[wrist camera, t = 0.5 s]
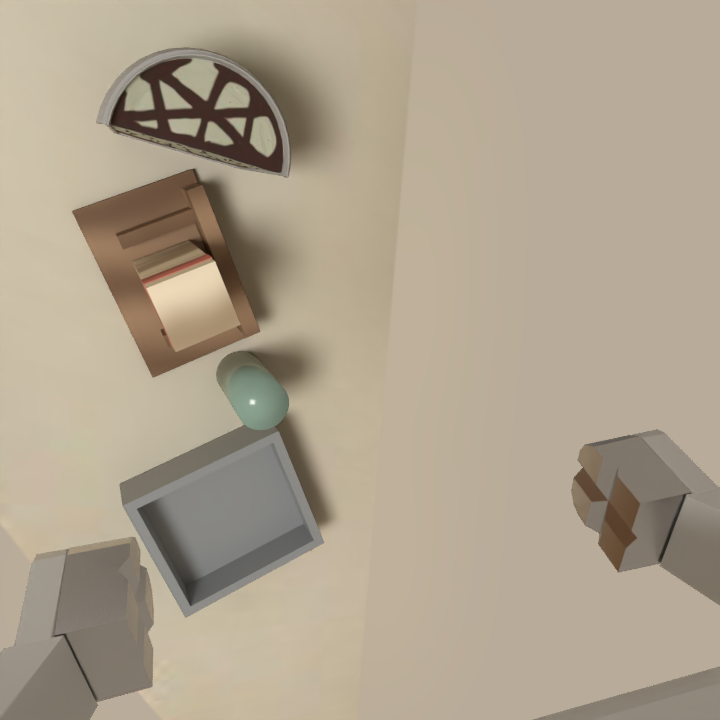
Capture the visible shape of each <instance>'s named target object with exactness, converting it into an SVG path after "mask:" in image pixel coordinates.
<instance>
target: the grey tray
mask: <svg viewBox="0 0 720 720" xmlns="http://www.w3.org/2000/svg"><path fill="white" fill-rule="evenodd" d="M120 490H121V498H122V505H123V507H124V509H125V511H126V513H127V515H128V516H129V518H130V520H131V522H132V523H133V525H134V527H135V529H136V531H137V532H138V534H139V536H140V538H141V539H142V541H143V543H144V545H145V547H146V548H147V550H148V552H149V554H150V555H151V557H152V559H153V561H154V563H155V564H156V566H157V568H158V570H159V571H160V573H161V575H162V577H163V579H164V580H165V582H166V584H167V586H168V588H169V589H170V591H171V593H172V595H173V596H174V598H175V600H176V602H177V604H178V605H179V607H180V609H181V611H182V612H183V614H184V616H185V618H186V617H188V616H190V615H191V614H193V613H195V612H197V611H199V610H201V609H203V608H204V607H206V606H208V605H210V604H212V603H214V602H215V601H217V600H219V599H221V598H223V597H225V596H227V595H228V594H230V593H232V592H234V591H236V590H238V589H240V588H241V587H243V586H245V585H247V584H249V583H251V582H253V581H254V580H256V579H258V578H260V577H262V576H264V575H265V574H267V573H269V572H271V571H273V570H275V569H277V568H278V567H280V566H282V565H284V564H286V563H288V562H290V561H291V560H293V559H295V558H297V557H299V556H301V555H302V554H304V553H306V552H308V551H310V550H312V549H314V548H315V547H317V546H319V545H321V544H323V543H324V541H323V538H322V536H321V533H320V531H319V529H318V526H317V524H316V521H315V519H314V516H313V514H312V511H311V509H310V506H309V504H308V502H307V499H306V497H305V494H304V492H303V489H302V487H301V484H300V482H299V480H298V477H297V475H296V472H295V470H294V467H293V465H292V462H291V460H290V458H289V455H288V453H287V450H286V448H285V445H284V443H283V440H282V438H281V435H280V433H279V431H278V429H277V428H276V427H275V426H274V427H272V428H270V429H267V430H254V429H251V428H249V427H247V426H246V425H244V426H242V427H240V428H238V429H236V430H233V431H231V432H229V433H227V434H225V435H223V436H221V437H219V438H216V439H214V440H212V441H210V442H208V443H206V444H204V445H202V446H199V447H197V448H195V449H193V450H191V451H189V452H187V453H185V454H182V455H180V456H178V457H176V458H174V459H172V460H170V461H168V462H165V463H163V464H161V465H159V466H157V467H155V468H153V469H151V470H148V471H146V472H144V473H142V474H140V475H138V476H136V477H134V478H132V479H129V480H127V481H125V482H123V483H121V484H120Z"/></svg>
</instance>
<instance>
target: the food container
mask: <svg viewBox="0 0 720 720" xmlns="http://www.w3.org/2000/svg"><path fill="white" fill-rule="evenodd" d="M96 123H98V124H105V125H107V126H108V127H109V128H110V129H111V130H112V131H113V132H114V133H116V134H120V135H123V136H127V137H130V138H134V139H137V140H141V141H144V142H148V143H151V144H155V145H158V146H162V147H165V148H169V149H172V150H176V151H179V152H183V153H186V154H190V155H193V156H197V157H200V158H204V159H207V160H211V161H214V162H218V163H221V164H225V165H228V166H232V167H235V168H239V169H244V170H250V171H256V172H262V173H268V174H274V175H280V176H284V177H286V178H288V177H289V171H290V160H291V149H290V141H289V134H288V131H287V127H286V124H285V120H284V118H283V116H282V113H281V111H280V109H279V107H278V105H277V103H276V102H275V100H274V98H273V97H272V95H271V94H270V92H269V91H268V90H267V89H266V88H265V86H264V85H263V84H262V83H261V82H260V81H259V80H258V79H257V78H256V77H255V76H254V75H253V74H252V73H250V72H249V71H248V70H247V69H245V68H244V67H242V66H241V65H239V64H237V63H236V62H234V61H233V60H231V59H229V58H226V57H224V56H222V55H220V54H218V53H214V52H211V51H207V50H203V49H196V48H172V49H166V50H163V51H159V52H155V53H152V54H150V55H148V56H146V57H144V58H141V59H140V60H138V61H137V62H135V63H134V64H132V65H131V66H130V67H128V68H127V69H126V70H125V71H124V72H123V73H122V74H121V75H120V76H119V77H118V78H117V79H116V80H115V81H114V83H113V84H112V86H111V87H110V89H109V90H108V92H107V93H106V96H105V98H104V100H103V102H102V104H101V107H100V109H99V113H98V117H97V121H96Z"/></svg>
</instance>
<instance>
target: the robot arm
mask: <svg viewBox="0 0 720 720" xmlns="http://www.w3.org/2000/svg"><path fill="white" fill-rule="evenodd" d="M578 461H579V463H580V464H581V466H582V467H583V468H582V469H581V470H580V471H579V472H578V473H577V475H576V476H575V477H574V479H573V484H572V490H571V491H572V496H573V503H574V506H575V508H576V511H577V513H578V515H579V517H580V518H581V520H582V521H583V523H584V524H585V526H587V527H589V528H591V529H593V530H594V531H596V532H598V533H599V542H598V544H599V546H600V547H601V549H602V550H603V551H604V553H605V554H606V556H607V557H608V558H609V560H610V561H611V563H612V564H613V566H614V567H615V568H616V570H617V571H618V572H622V571H627V570H632V569H637V568H641V567H646V566H651V565H655V564H660V563H661V564H660V566H661V567H662V568H664V569H666V570H667V571H669V572H670V573H671V574H673V575H674V576H676V577H677V578H679V579H681V580H682V581H684V582H685V583H687V584H688V585H690V586H691V587H693V588H694V589H696V590H697V591H699V592H700V593H702V594H703V595H705V596H706V597H708V598H709V599H711V600H712V601H714V602H715V603H717V604H719V605H720V487H718V486H717V485H716V484H715V483H714V482H713V481H712V480H711V479H710V478H709V477H708V476H707V475H706V474H705V473H704V472H703V471H702V470H701V469H700V468H699V467H698V466H697V465H696V464H695V463H694V462H693V461H692V460H691V459H690V458H689V457H688V456H687V455H686V454H685V453H684V452H683V451H682V450H681V449H680V448H679V447H678V446H677V445H676V444H675V443H674V442H673V441H672V440H671V439H670V438H669V437H668V436H667V435H666V434H665V433H664V432H662V431H660V430H653V431H648V432H643V433H639V434H634V435H628V436H623V437H618V438H614V439H609V440H605V441H600V442H595V443H590V444H586V445H584V446H583V447H582V449H581V450H580V453H579V458H578ZM153 624H154V608H153V597H152V589H151V584H150V579H149V575H148V572H147V569H146V568H145V567H143V566H141V565H140V548H139V546H138V543H137V540H136V538H135V537H128V538H123V539H117V540H112V541H106V542H100V543H95V544H89V545H83V546H78V547H72V548H69V549H64V550H58V551H53V552H47V553H42V554H37V555H36V557H35V559H34V560H33V562H32V564H31V568H30V573H29V578H28V583H27V587H26V592H25V597H24V602H23V606H22V611H21V616H20V621H19V626H18V630H17V635H16V640H15V644H14V646H12V647H8V648H4V649H3V650H2V651H1V653H0V720H90V718H91V716H92V715H93V713H94V711H95V709H96V708H97V706H98V705H97V702H99V701H102V700H106V699H110V698H113V697H117V696H121V695H124V694H128V693H132V692H135V691H139V690H143V689H146V688H150V687H152V679H153V647H152V644H151V641H150V638H149V635H148V631H149V630H150V628H151V627H152V626H153ZM533 720H720V667H716V668H713V669H709V670H706V671H702V672H699V673H696V674H692V675H688V676H685V677H681V678H678V679H674V680H671V681H667V682H664V683H660V684H657V685H653V686H650V687H646V688H643V689H639V690H636V691H632V692H628V693H625V694H621V695H618V696H615V697H611V698H607V699H604V700H600V701H597V702H593V703H590V704H586V705H583V706H579V707H576V708H572V709H569V710H565V711H562V712H558V713H555V714H551V715H548V716H544V717H540V718H537V719H533Z"/></svg>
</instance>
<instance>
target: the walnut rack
mask: <svg viewBox="0 0 720 720" xmlns="http://www.w3.org/2000/svg"><path fill="white" fill-rule="evenodd" d="M72 212H73V214H74V216H75V218H76V220H77V223H78V225H79V227H80V229H81V231H82V233H83V235H84V237H85V239H86V241H87V243H88V245H89V247H90V249H91V251H92V253H93V255H94V258H95V260H96V262H97V264H98V266H99V268H100V270H101V272H102V274H103V276H104V278H105V280H106V282H107V284H108V286H109V288H110V290H111V293H112V295H113V297H114V299H115V301H116V303H117V305H118V307H119V309H120V311H121V313H122V315H123V317H124V319H125V321H126V323H127V325H128V327H129V330H130V332H131V334H132V336H133V338H134V340H135V342H136V344H137V346H138V348H139V350H140V352H141V354H142V356H143V358H144V360H145V362H146V365H147V367H148V369H149V371H150V373H151V375H152V377H156V376H158V375H160V374H163V373H165V372H167V371H170V370H172V369H174V368H176V367H179V366H181V365H183V364H186V363H188V362H190V361H193V360H195V359H197V358H200V357H202V356H204V355H206V354H209V353H211V352H213V351H216V350H218V349H220V348H223V347H225V346H227V345H230V344H232V343H234V342H236V341H239V340H241V339H243V338H247V337H249V336H251V335H254V334H256V333H258V332H260V330H259V327H258V325H257V322H256V320H255V317H254V315H253V312H252V310H251V307H250V304H249V302H248V299H247V297H246V294H245V292H244V289H243V287H242V284H241V282H240V279H239V276H238V274H237V271H236V269H235V266H234V264H233V261H232V259H231V256H230V253H229V251H228V248H227V246H226V243H225V241H224V238H223V236H222V233H221V231H220V228H219V225H218V223H217V220H216V218H215V215H214V213H213V210H212V208H211V205H210V203H209V200H208V197H207V195H206V192H205V190H204V187H203V185H201V184H198V182H197V180H196V177H195V175H194V172H193V170H192V169H190V170H188V171H185V172H182V173H179V174H176V175H173V176H171V177H168V178H165V179H162V180H159V181H156V182H154V183H151V184H148V185H145V186H142V187H139V188H137V189H134V190H131V191H128V192H125V193H122V194H119V195H117V196H114V197H111V198H108V199H105V200H102V201H100V202H97V203H94V204H91V205H88V206H85V207H83V208H80V209H77V210H74V211H72ZM186 240H189V241H190V242H191V243H193V244H194V245H195V246H196V247H198V248H199V249H200V250H201V251H203V252H204V253H205V254H208V255H210V256H211V257H212V259H213V260H214V261H215V262H216V265H217V267H218V270H219V272H220V275H221V277H222V280H223V282H224V285H225V287H226V290H227V292H228V295H229V297H230V300H231V302H232V304H233V307H234V309H235V312H236V314H237V317H238V319H239V322H240V324H241V325H239V326H236V327H234V328H232V329H229V330H227V331H225V332H222V333H220V334H218V335H215V336H213V337H211V338H208V339H206V340H204V341H201V342H199V343H197V344H194V345H192V346H190V347H187V348H185V349H183V350H180V351H178V352H175V350H174V348H172V346H171V344H170V342H169V339H168V337H167V335H166V333H165V331H164V329H163V326H162V324H161V322H160V320H159V318H158V316H157V314H156V312H155V310H154V308H153V305H152V303H151V301H150V299H149V297H148V295H147V292H146V290H145V288H144V286H143V284H142V282H141V279H140V277H139V275H138V273H137V271H136V269H135V266H134V264H133V262H132V261H133V260H136V259H138V258H141V257H144V256H146V255H149V254H152V253H154V252H157V251H159V250H162V249H165V248H167V247H170V246H173V245H175V244H178V243H180V242H183V241H186Z"/></svg>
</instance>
